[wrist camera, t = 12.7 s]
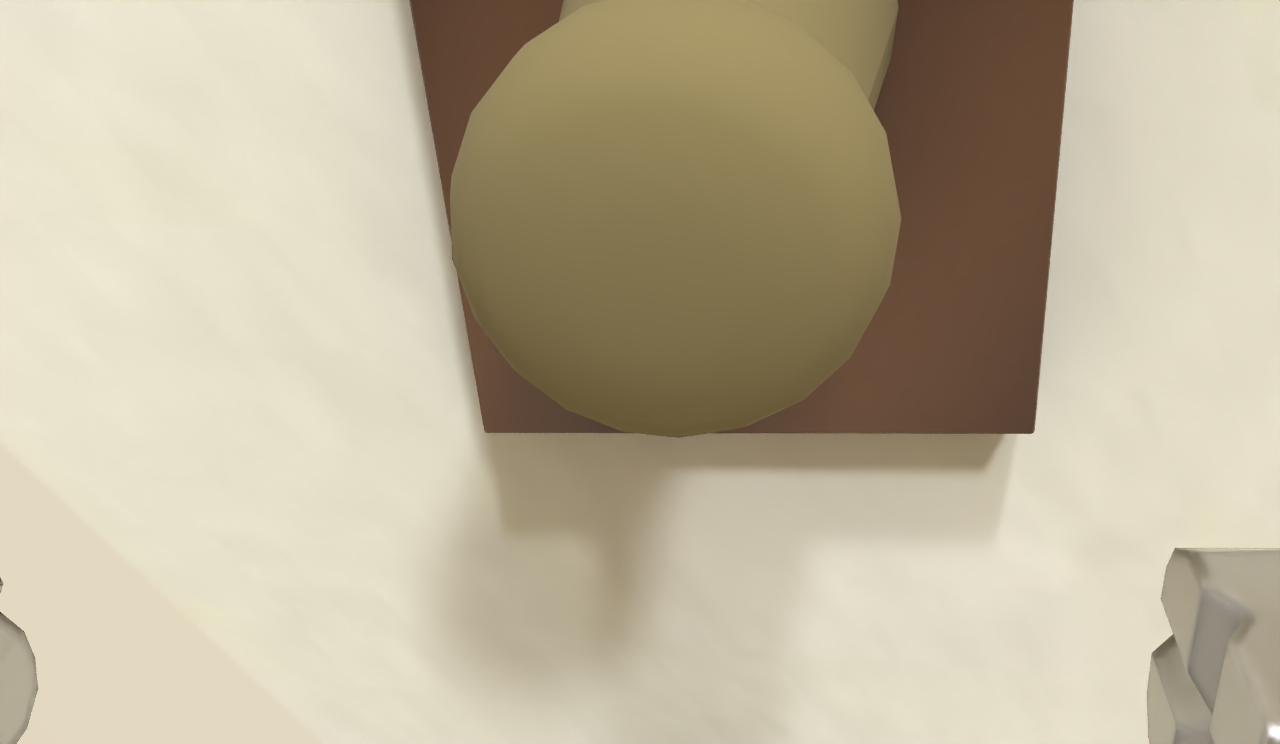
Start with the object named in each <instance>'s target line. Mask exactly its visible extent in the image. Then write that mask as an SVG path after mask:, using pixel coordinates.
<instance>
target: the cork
mask: <svg viewBox="0 0 1280 744" xmlns="http://www.w3.org/2000/svg"><path fill="white" fill-rule="evenodd" d="M898 8H899V7H898V1H897V0H564V1H563V5H562V9H561V14H560V18H559V22H558V23H556V24H555V25H553V26H552V27H550V28H549V29H547V30H546V31H544V32H542V33H541V34H539V35H538V36H536V37H535V38H533V39H532V40H530V41H529V42H527V43H526V44H525V45H524V46H523V47H522V48H521V49H520V50H519V51H518V52H517V54H516V55H515V56H514V57H513V58H512V60H511V61H510V62H509V64H508V65H507V66H506V67H505V69H504V70H503V71H502V73H501V74H500V75H499V77H498V78H497V79H496V81H495V82H494V83H493V85H492V86H491V87H490V89H489V90H488V91H487V92H486V94H485V95H484V96H483V98H482V99H481V100H480V102H479V103H478V104H477V106H476V107H475V108H474V110H473V111H472V112H471V115H470V118H469V121H468V125H467V128H466V131H465V134H464V137H463V141H462V144H461V147H460V150H459V153H458V157H457V160H456V163H455V166H454V169H453V173H452V176H451V189H450V212H451V240H452V260H453V263H454V265H455V268H456V271H457V273H458V276H459V279H460V281H461V284H462V287H463V289H464V292H465V295H466V298H467V300H468V303H469V306H470V308H471V311H472V314H473V316H474V318H475V320H476V321H477V322H478V324H479V325H480V326H481V327H482V329H483V330H484V331H485V333H486V334H487V335H488V337H489V338H490V339H491V341H492V342H493V343H494V344H495V346H496V347H497V348H498V350H499V351H500V352H501V354H502V355H503V356H504V358H505V359H506V360H507V361H508V363H509V364H510V365H511V367H512V368H513V369H514V370H515V371H516V372H517V373H518V374H519V375H520V376H522V377H523V378H524V379H526V380H527V381H529V382H530V383H531V384H533V385H534V386H535V387H537V388H538V389H539V390H541V391H542V392H543V393H545V394H546V395H547V396H549V397H550V398H551V399H553V400H554V401H555V402H557V403H558V404H559V405H561V406H562V407H563V408H565V409H566V410H569V411H571V412H574V413H576V414H579V415H581V416H584V417H586V418H589V419H591V420H594V421H597V422H599V423H602V424H604V425H607V426H609V427H612V428H614V429H617V430H619V431H625V432H634V433H642V434H651V435H660V436H669V437H677V438H680V437H686V436H693V435H699V434H706V433H712V432H718V431H725V430H731V429H737V428H741V427H746V426H749V425H751V424H753V423H755V422H757V421H759V420H762V419H764V418H766V417H768V416H770V415H772V414H774V413H777V412H779V411H781V410H783V409H785V408H787V407H789V406H792V405H794V404H796V403H798V402H800V401H802V400H804V399H805V398H807V397H808V396H809V395H810V394H811V393H812V392H813V391H814V390H815V389H816V388H818V387H819V386H820V385H821V384H822V383H823V382H824V381H825V380H826V379H827V378H829V377H830V376H831V375H832V374H833V373H834V372H835V371H836V370H837V369H838V368H840V367H841V366H842V365H843V364H844V363H845V362H846V361H847V360H848V359H849V358H850V357H851V356H852V354H853V352H854V350H855V348H856V347H857V345H858V343H859V341H860V339H861V338H862V336H863V334H864V332H865V330H866V329H867V327H868V325H869V323H870V321H871V320H872V318H873V316H874V314H875V312H876V311H877V309H878V307H879V305H880V303H881V301H882V300H883V298H884V296H885V294H886V292H887V290H888V288H889V286H890V283H891V277H892V271H893V265H894V259H895V253H896V247H897V242H898V236H899V230H900V224H901V213H900V208H899V202H898V196H897V190H896V185H895V179H894V174H893V168H892V163H891V157H890V151H889V146H888V140H887V135H886V132H885V130H884V128H883V126H882V125H881V123H880V121H879V119H878V118H877V116H876V114H875V112H874V108H875V105H876V102H877V99H878V96H879V93H880V90H881V87H882V84H883V81H884V78H885V75H886V72H887V69H888V66H889V63H890V60H891V53H892V47H893V40H894V34H895V27H896V21H897V14H898Z"/></svg>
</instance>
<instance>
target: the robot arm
mask: <svg viewBox="0 0 1280 744" xmlns="http://www.w3.org/2000/svg"><path fill="white" fill-rule="evenodd" d="M2 587H3V582H2V580H1V578H0V592H1V589H2ZM1161 601H1162V604H1163V607H1164V609H1165V612H1166V615H1167V618H1168V620H1169V623H1170V626H1171V629H1172V631H1173V635H1172V636H1171V637H1170V638H1168V639H1167V640H1166V641H1165V642H1164V643H1163V644H1162V645H1161V646H1159V647H1158V648H1157V649H1156V650H1155V651H1154V652H1153V653H1152V656H1151V664H1150V672H1149V680H1148V688H1147V715H1148V738H1149V743H1150V744H1280V548H1175V549H1174V551H1173V553H1172V556H1171V558H1170V560H1169V562H1168V565H1167V567H1166V572H1165V577H1164V583H1163V589H1162V594H1161ZM37 691H38V684H37V673H36V662H35V657H34V654H33V652H32V649H31V647H30V645H29V642H28V640H27V637H26V635H25V632H24V631H23V630H21V629H20V628H19V627H17V625H15V624H14V623H13V622H12V621H11V620H9V619H8V618H7V617H6V616H4V615H3V614H2V613H1V612H0V744H16V743H17V742H18V741H19V739H20V738H21V736H22V735H23V733H24V732H25V730H26V729H27V726H28V723H29V719H30V716H31V712H32V708H33V705H34V701H35V698H36V694H37Z"/></svg>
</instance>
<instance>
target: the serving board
mask: <svg viewBox="0 0 1280 744" xmlns="http://www.w3.org/2000/svg"><path fill="white" fill-rule="evenodd" d="M563 1H564V0H410V6H411V12H412V17H413V23H414V29H415V35H416V41H417V46H418V52H419V58H420V64H421V69H422V75H423V81H424V87H425V92H426V98H427V104H428V110H429V115H430V121H431V127H432V133H433V138H434V144H435V150H436V156H437V161H438V167H439V173H440V179H441V184H442V190H443V196H444V202H445V207H446V213H447V219H448V225H449V230H450V236H451V212H450V189H451V176H452V173H453V169H454V166H455V163H456V160H457V157H458V153H459V150H460V147H461V144H462V141H463V137H464V134H465V131H466V128H467V125H468V121H469V118H470V115H471V112H472V111H473V110H474V108H475V107H476V106H477V104H478V103H479V102H480V100H481V99H482V98H483V96H484V95H485V94H486V92H487V91H488V90H489V89H490V87H491V86H492V85H493V83H494V82H495V81H496V79H497V78H498V77H499V75H500V74H501V73H502V71H503V70H504V69H505V67H506V66H507V65H508V64H509V62H510V61H511V60H512V58H513V57H514V56H515V55H516V54H517V52H518V51H519V50H520V49H521V48H522V47H523V46H524V45H525V44H526V43H527V42H529V41H530V40H532V39H533V38H535V37H536V36H538V35H539V34H541V33H542V32H544V31H546V30H547V29H549V28H550V27H552V26H553V25H555V24H556V23H558V22H559V18H560V14H561V9H562V5H563ZM897 1H898V7H899V8H898V14H897V21H896V27H895V34H894V40H893V47H892V53H891V60H890V63H889V66H888V69H887V72H886V75H885V78H884V81H883V84H882V87H881V90H880V93H879V96H878V99H877V102H876V105H875V108H874V112H875V114H876V116H877V118H878V119H879V121H880V123H881V125H882V126H883V128H884V130H885V132H886V135H887V140H888V146H889V151H890V157H891V163H892V168H893V174H894V179H895V185H896V190H897V196H898V202H899V208H900V213H901V224H900V230H899V236H898V242H897V247H896V253H895V259H894V265H893V271H892V277H891V283H890V286H889V288H888V290H887V292H886V294H885V296H884V298H883V300H882V301H881V303H880V305H879V307H878V309H877V311H876V312H875V314H874V316H873V318H872V320H871V321H870V323H869V325H868V327H867V329H866V330H865V332H864V334H863V336H862V338H861V339H860V341H859V343H858V345H857V347H856V348H855V350H854V352H853V354H852V356H851V357H850V358H849V359H848V360H847V361H846V362H845V363H844V364H843V365H842V366H841V367H840V368H838V369H837V370H836V371H835V372H834V373H833V374H832V375H831V376H830V377H829V378H827V379H826V380H825V381H824V382H823V383H822V384H821V385H820V386H819V387H818V388H816V389H815V390H814V391H813V392H812V393H811V394H810V395H809V396H808V397H807V398H805V399H804V400H802V401H800V402H798V403H796V404H794V405H792V406H789V407H787V408H785V409H783V410H781V411H779V412H777V413H774V414H772V415H770V416H768V417H766V418H764V419H762V420H759V421H757V422H755V423H753V424H751V425H749V426H746V427H741V428H737V429H731V430H725V431H718V432H712V433H930V434H1032V433H1033V432H1034V430H1035V420H1036V409H1037V398H1038V387H1039V376H1040V365H1041V354H1042V343H1043V332H1044V321H1045V310H1046V299H1047V288H1048V277H1049V266H1050V255H1051V244H1052V233H1053V222H1054V211H1055V200H1056V189H1057V178H1058V167H1059V156H1060V145H1061V134H1062V123H1063V112H1064V101H1065V90H1066V79H1067V68H1068V57H1069V46H1070V35H1071V24H1072V13H1073V2H1074V0H897ZM451 242H452V240H451ZM457 276H458V273H457ZM458 282H459V288H460V294H461V299H462V305H463V311H464V317H465V322H466V328H467V334H468V340H469V345H470V351H471V357H472V363H473V368H474V374H475V380H476V386H477V391H478V397H479V403H480V409H481V414H482V420H483V426H484V431H485V432H486V433H634V432H625V431H619V430H617V429H614V428H612V427H609V426H607V425H604V424H602V423H599V422H597V421H594V420H591V419H589V418H586V417H584V416H581V415H579V414H576V413H574V412H571V411H569V410H566V409H565V408H563V407H562V406H561V405H559V404H558V403H557V402H555V401H554V400H553V399H551V398H550V397H549V396H547V395H546V394H545V393H543V392H542V391H541V390H539V389H538V388H537V387H535V386H534V385H533V384H531V383H530V382H529V381H527V380H526V379H524V378H523V377H522V376H520V375H519V374H518V373H517V372H516V371H515V370H514V369H513V368H512V367H511V365H510V364H509V363H508V361H507V360H506V359H505V358H504V356H503V355H502V354H501V352H500V351H499V350H498V348H497V347H496V346H495V344H494V343H493V342H492V341H491V339H490V338H489V337H488V335H487V334H486V333H485V331H484V330H483V329H482V327H481V326H480V325H479V324H478V322H477V321H476V320H475V318H474V316H473V314H472V311H471V308H470V306H469V303H468V300H467V298H466V295H465V292H464V289H463V287H462V284H461V281H460V279H459V276H458Z"/></svg>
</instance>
